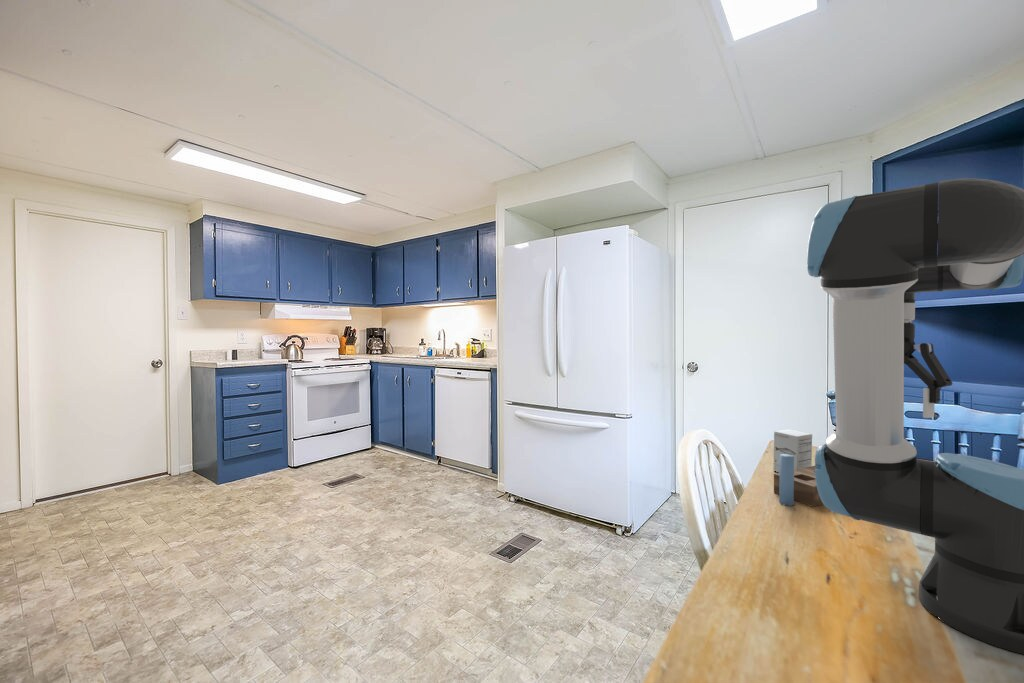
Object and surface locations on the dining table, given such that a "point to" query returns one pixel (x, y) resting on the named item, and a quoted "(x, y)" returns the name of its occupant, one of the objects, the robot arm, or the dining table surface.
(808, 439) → the supplement box
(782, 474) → the peg
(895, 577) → the dining table surface
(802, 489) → the hole block
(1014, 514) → the robot arm
